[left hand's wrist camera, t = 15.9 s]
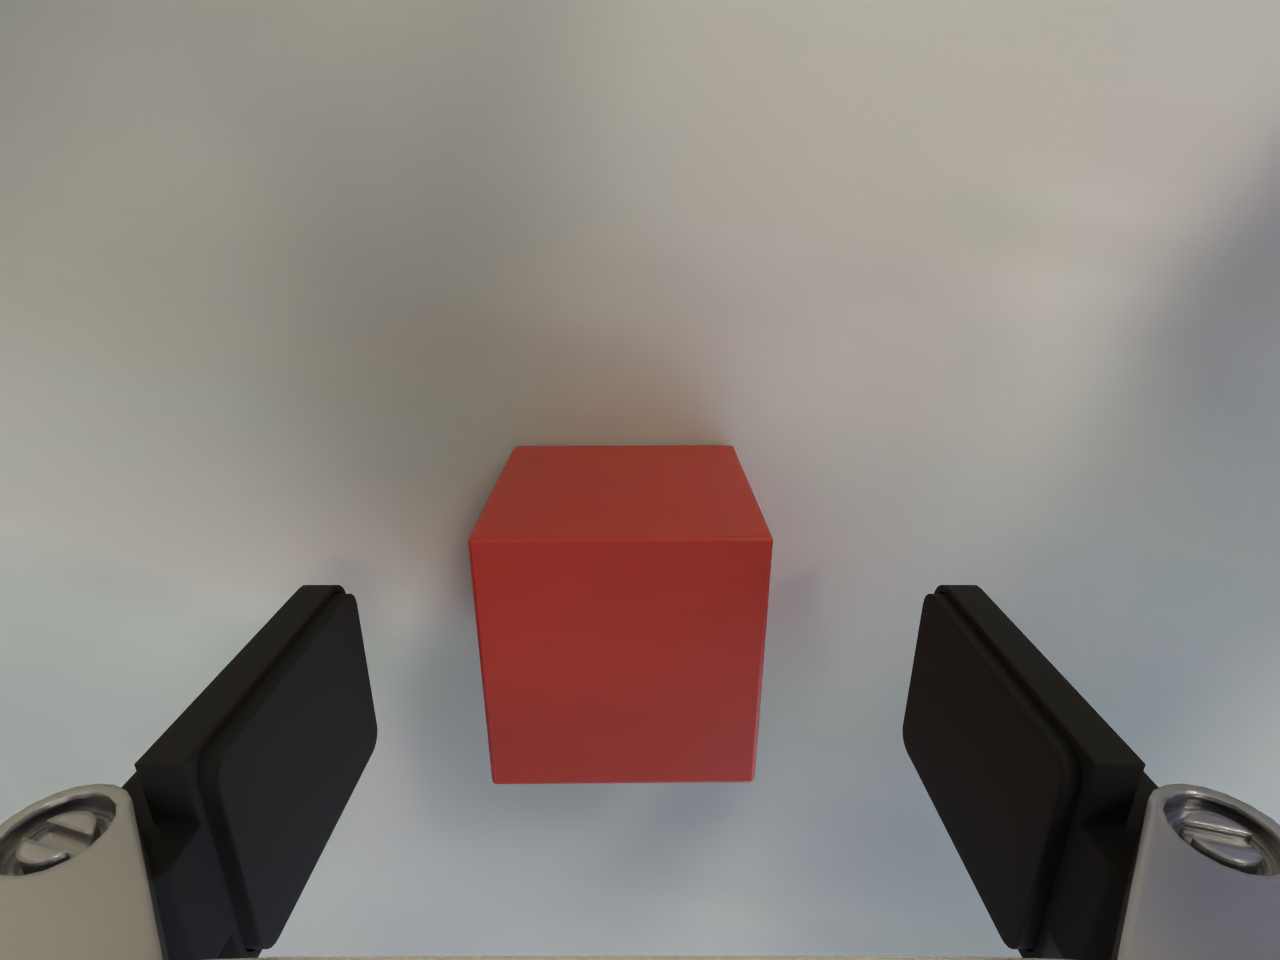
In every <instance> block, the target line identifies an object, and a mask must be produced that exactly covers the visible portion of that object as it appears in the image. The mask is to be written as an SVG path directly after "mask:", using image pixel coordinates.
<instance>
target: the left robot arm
mask: <svg viewBox="0 0 1280 960" xmlns="http://www.w3.org/2000/svg"><path fill="white" fill-rule="evenodd" d="M376 739H377V723H376V717H375V711H374V705H373V699H372V693H371V687H370V681H369V675H368V669H367V662H366V656H365V650H364V644H363V638H362V632H361V626H360V620H359V614H358V608H357V603H356V599H355V597H354V595H352V594H346V593H345V590H344V589H343V587H341V586H340V585H303V586H302V587H301V588H299V589H298V590H297V591H296V592H295V594H294V595H293V596H292V597H291V598H290V599H289V600H288V601H287V602H286V603H285V604H284V605H283V606H282V607H281V608H280V610H279V611H278V612H277V613H276V614H275V615H274V616H273V617H272V618H271V619H270V620H269V621H268V622H267V623H266V624H265V626H264V627H263V628H262V629H261V630H260V631H259V632H258V633H257V634H256V635H255V636H254V637H253V638H252V639H251V641H250V642H249V643H248V644H247V645H246V646H245V647H244V648H243V649H242V650H241V651H240V652H239V653H238V654H237V655H236V657H235V658H234V659H233V660H232V661H231V662H230V663H229V664H228V665H227V666H226V667H225V668H224V669H223V670H222V671H221V673H220V674H219V675H218V676H217V677H216V678H215V679H214V680H213V681H212V682H211V683H210V684H209V685H208V686H207V688H206V689H205V690H204V691H203V692H202V693H201V694H200V695H199V696H198V697H197V698H196V699H195V700H194V701H193V702H192V704H191V705H190V706H189V707H188V708H187V709H186V710H185V711H184V712H183V713H182V714H181V715H180V716H179V717H178V718H177V720H176V721H175V722H174V723H173V724H172V725H171V726H170V727H169V728H168V729H167V730H166V731H165V732H164V733H163V735H162V736H161V737H160V738H159V739H158V740H157V741H156V742H155V743H154V744H153V745H152V746H151V747H150V748H149V749H148V751H147V752H146V753H145V754H144V755H143V756H142V757H141V758H140V759H139V760H138V761H137V762H136V763H135V767H136V770H137V771H136V773H135V774H134V775H133V776H132V777H131V778H130V779H129V780H128V781H127V782H126V783H125V784H124V786H123V787H122V788H120V787H118V786H116V785H109V784H92V785H86V786H79V787H75V788H72V789H68V790H65V791H62V792H59V793H56V794H53V795H51V796H49V797H47V798H44V799H42V800H40V801H38V802H36V803H34V804H32V805H29V806H28V807H26V808H25V809H23V810H22V811H20V812H18V813H17V814H15V815H14V816H12V817H10V818H9V819H7V820H6V821H5V822H4V823H3V824H1V825H0V960H1280V825H1279V824H1277V823H1276V822H1275V821H1274V820H1273V819H1271V818H1270V817H1268V816H1266V815H1265V814H1263V813H1262V812H1260V811H1258V810H1257V809H1255V808H1254V807H1252V806H1251V805H1248V804H1246V803H1244V802H1242V801H1240V800H1238V799H1236V798H1233V797H1231V796H1229V795H1227V794H1224V793H1221V792H1218V791H1215V790H1212V789H1208V788H1205V787H1201V786H1194V785H1188V784H1171V785H1164V786H1162V787H1160V788H1158V787H1157V786H1156V784H1155V783H1154V782H1153V781H1152V780H1151V779H1150V778H1149V777H1148V776H1147V775H1146V774H1145V773H1144V771H1143V770H1144V767H1145V763H1144V762H1143V761H1142V760H1141V759H1140V758H1139V757H1138V756H1137V755H1136V754H1135V753H1134V752H1133V751H1132V749H1131V748H1130V747H1129V746H1128V745H1127V744H1126V743H1125V742H1124V741H1123V740H1122V739H1121V738H1120V737H1119V736H1118V735H1117V733H1116V732H1115V731H1114V730H1113V729H1112V728H1111V727H1110V726H1109V725H1108V724H1107V723H1106V722H1105V721H1104V720H1103V718H1102V717H1101V716H1100V715H1099V714H1098V713H1097V712H1096V711H1095V710H1094V709H1093V708H1092V707H1091V706H1090V705H1089V704H1088V702H1087V701H1086V700H1085V699H1084V698H1083V697H1082V696H1081V695H1080V694H1079V693H1078V692H1077V691H1076V690H1075V689H1074V688H1073V686H1072V685H1071V684H1070V683H1069V682H1068V681H1067V680H1066V679H1065V678H1064V677H1063V676H1062V675H1061V674H1060V673H1059V671H1058V670H1057V669H1056V668H1055V667H1054V666H1053V665H1052V664H1051V663H1050V662H1049V661H1048V660H1047V659H1046V658H1045V657H1044V655H1043V654H1042V653H1041V652H1040V651H1039V650H1038V649H1037V648H1036V647H1035V646H1034V645H1033V644H1032V643H1031V642H1030V641H1029V639H1028V638H1027V637H1026V636H1025V635H1024V634H1023V633H1022V632H1021V631H1020V630H1019V629H1018V628H1017V627H1016V626H1015V624H1014V623H1013V622H1012V621H1011V620H1010V619H1009V618H1008V617H1007V616H1006V615H1005V614H1004V613H1003V612H1002V611H1001V610H1000V608H999V607H998V606H997V605H996V604H995V603H994V602H993V601H992V600H991V599H990V598H989V597H988V596H987V595H986V594H985V592H984V591H983V590H982V589H981V588H979V587H978V586H977V585H940V586H939V587H937V589H936V590H935V593H934V594H928V595H926V597H925V599H924V603H923V608H922V614H921V620H920V626H919V632H918V638H917V644H916V650H915V656H914V662H913V669H912V675H911V681H910V687H909V693H908V699H907V705H906V711H905V717H904V723H903V739H904V744H905V748H906V750H907V753H908V755H909V757H910V759H911V761H912V763H913V764H914V766H915V768H916V770H917V772H918V774H919V776H920V778H921V780H922V782H923V784H924V786H925V788H926V790H927V792H928V794H929V796H930V798H931V800H932V802H933V804H934V806H935V808H936V810H937V812H938V814H939V816H940V818H941V820H942V822H943V824H944V826H945V828H946V830H947V832H948V834H949V836H950V838H951V840H952V841H953V843H954V845H955V847H956V849H957V851H958V853H959V855H960V857H961V859H962V861H963V863H964V865H965V867H966V869H967V871H968V873H969V875H970V877H971V879H972V881H973V883H974V885H975V887H976V889H977V891H978V893H979V895H980V897H981V899H982V901H983V903H984V905H985V907H986V909H987V911H988V913H989V915H990V917H991V918H992V920H993V922H994V924H995V926H996V928H997V930H998V932H999V934H1000V936H1001V938H1002V940H1003V941H1004V943H1005V944H1006V945H1007V946H1008V947H1009V948H1012V949H1018V950H1019V952H1020V954H1021V956H1022V958H1007V957H875V956H404V957H273V958H258V956H259V954H260V952H261V950H262V949H268V948H271V947H272V946H273V945H274V944H275V943H276V941H277V940H278V938H279V936H280V934H281V932H282V930H283V928H284V926H285V924H286V922H287V920H288V918H289V917H290V915H291V913H292V911H293V909H294V907H295V905H296V903H297V901H298V899H299V897H300V895H301V893H302V891H303V889H304V887H305V885H306V883H307V881H308V879H309V877H310V875H311V873H312V871H313V869H314V867H315V865H316V863H317V861H318V859H319V857H320V855H321V853H322V851H323V849H324V847H325V845H326V843H327V841H328V840H329V838H330V836H331V834H332V832H333V830H334V828H335V826H336V824H337V822H338V820H339V818H340V816H341V814H342V812H343V810H344V808H345V806H346V804H347V802H348V800H349V798H350V796H351V794H352V792H353V790H354V788H355V786H356V784H357V782H358V780H359V778H360V776H361V774H362V772H363V770H364V768H365V766H366V764H367V763H368V761H369V759H370V757H371V755H372V753H373V750H374V748H375V744H376Z"/></svg>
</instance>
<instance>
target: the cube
mask: <svg viewBox="0 0 1280 960" xmlns="http://www.w3.org/2000/svg"><path fill="white" fill-rule="evenodd" d="M772 545H773V539H772V536H771V534H770V532H769V529H768V527H767V525H766V522H765V520H764V518H763V515H762V513H761V511H760V508H759V506H758V504H757V501H756V499H755V497H754V494H753V492H752V490H751V487H750V485H749V483H748V480H747V478H746V476H745V474H744V471H743V469H742V467H741V464H740V462H739V460H738V457H737V455H736V453H735V450H734V448H733V447H732V446H555V447H515V448H514V450H513V452H512V454H511V456H510V458H509V460H508V462H507V464H506V466H505V468H504V470H503V472H502V474H501V476H500V478H499V480H498V482H497V484H496V486H495V488H494V490H493V492H492V494H491V496H490V498H489V500H488V502H487V504H486V506H485V508H484V510H483V512H482V514H481V516H480V518H479V520H478V522H477V524H476V526H475V527H474V529H473V531H472V533H471V535H470V537H469V540H468V546H469V556H470V566H471V575H472V585H473V595H474V605H475V615H476V625H477V634H478V644H479V654H480V664H481V674H482V684H483V693H484V703H485V713H486V723H487V733H488V743H489V752H490V762H491V772H492V780H493V782H494V783H495V784H552V783H673V782H751V781H753V779H754V777H755V764H756V751H757V738H758V725H759V712H760V699H761V686H762V674H763V661H764V648H765V635H766V622H767V609H768V596H769V584H770V571H771V558H772Z"/></svg>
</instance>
